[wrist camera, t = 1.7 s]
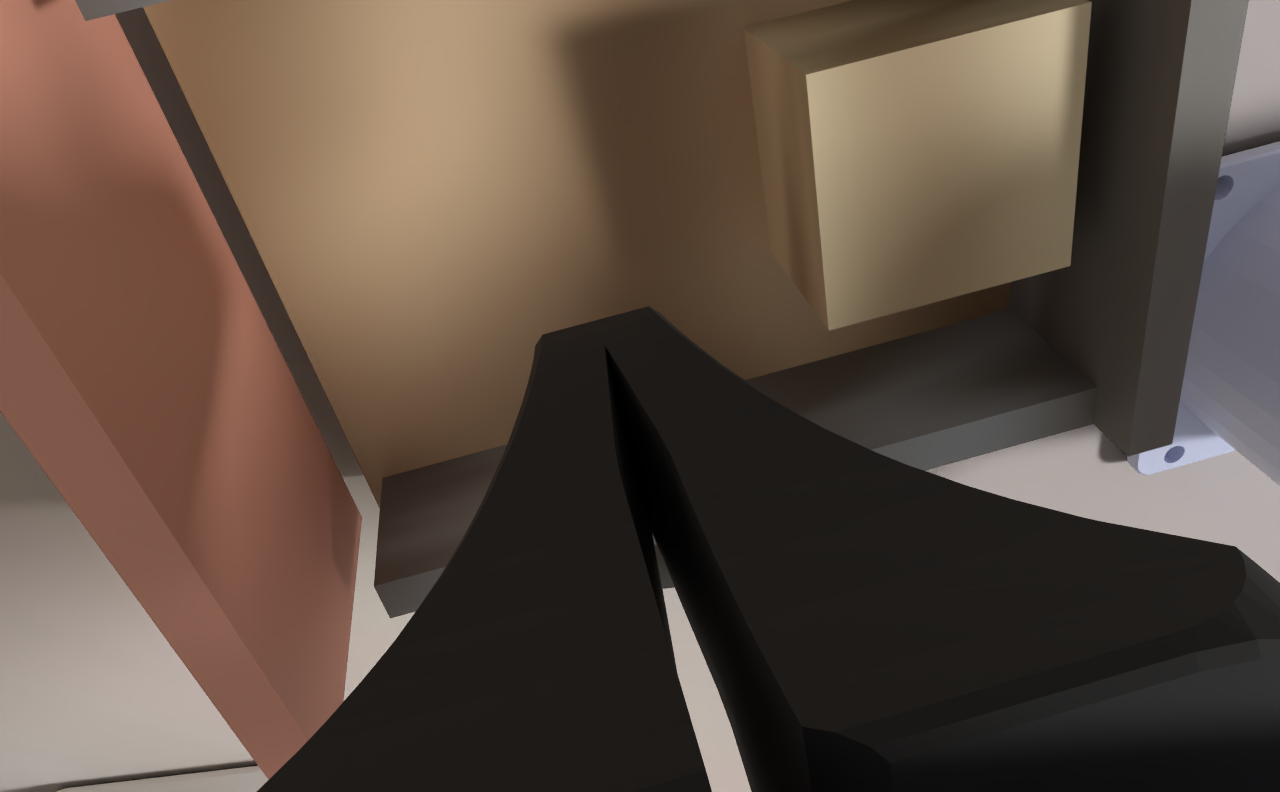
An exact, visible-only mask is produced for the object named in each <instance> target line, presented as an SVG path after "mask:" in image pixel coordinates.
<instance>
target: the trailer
mask: <svg viewBox="0 0 1280 792" xmlns="http://www.w3.org/2000/svg"><path fill="white" fill-rule="evenodd" d="M75 1H76V3H77V5H78V7H79V9H80V11H81V13H82V15H83V17H84V19H85V21H89V20H93V19H97V18H101V17H105V16H109V15H113V14H117V13H121V12H126V11H130V10H134V9H138V8H142V7H143V9H144V11H145V13H146V15H147V17H148V19H149V21H150V23H151V25H152V28H153V30H154V32H155V34H156V36H157V38H158V40H159V42H160V44H161V47H162V49H163V51H164V53H165V55H166V57H167V59H168V61H169V64H170V66H171V68H172V70H173V72H174V74H175V76H176V78H177V80H178V83H179V85H180V87H181V89H182V91H183V93H184V95H185V97H186V99H187V102H188V104H189V106H190V108H191V110H192V112H193V114H194V116H195V119H196V121H197V123H198V125H199V127H200V129H201V131H202V133H203V135H204V138H205V140H206V142H207V144H208V146H209V148H210V150H211V152H212V155H213V157H214V159H215V161H216V163H217V165H218V167H219V169H220V171H221V174H222V176H223V178H224V180H225V182H226V184H227V186H228V188H229V190H230V193H231V195H232V197H233V199H234V201H235V203H236V205H237V207H238V210H239V212H240V214H241V216H242V218H243V220H244V222H245V224H246V226H247V229H248V231H249V233H250V235H251V237H252V239H253V241H254V243H255V245H256V248H257V250H258V252H259V254H260V256H261V258H262V260H263V262H264V265H265V267H266V269H267V271H268V273H269V275H270V277H271V279H272V281H273V284H274V286H275V288H276V290H277V292H278V294H279V296H280V298H281V300H282V303H283V305H284V307H285V309H286V311H287V313H288V315H289V317H290V320H291V322H292V324H293V326H294V328H295V330H296V332H297V334H298V336H299V339H300V341H301V343H302V345H303V347H304V349H305V351H306V353H307V356H308V358H309V360H310V362H311V364H312V366H313V368H314V370H315V372H316V375H317V377H318V379H319V381H320V383H321V385H322V387H323V389H324V391H325V394H326V396H327V398H328V400H329V402H330V404H331V406H332V408H333V411H334V413H335V415H336V417H337V419H338V421H339V423H340V425H341V427H342V430H343V432H344V434H345V436H346V438H347V440H348V442H349V444H350V446H351V449H352V451H353V453H354V455H355V457H356V459H357V461H358V463H359V466H360V468H361V470H362V472H363V474H364V476H365V478H366V480H367V482H368V485H369V487H370V489H371V491H372V493H373V495H374V497H375V499H376V501H377V504H378V506H379V508H380V515H379V528H378V541H377V554H376V567H375V580H374V587H375V589H376V591H377V593H378V595H379V597H380V599H381V601H382V603H383V605H384V607H385V609H386V611H387V613H388V615H389V617H390V618H393V617H397V616H400V615H404V614H408V613H411V612H415V611H417V609H418V608H419V606H420V605H421V603H422V602H423V600H424V599H425V597H426V596H427V594H428V593H429V591H430V590H431V589H432V587H433V586H434V584H435V583H436V581H437V580H438V578H439V577H440V575H441V574H442V572H443V570H444V569H445V567H446V566H447V564H448V562H449V561H450V559H451V557H452V555H453V554H454V552H455V550H456V549H457V547H458V545H459V544H460V542H461V540H462V538H463V537H464V535H465V533H466V531H467V529H468V528H469V526H470V524H471V522H472V520H473V518H474V516H475V514H476V512H477V510H478V509H479V507H480V505H481V503H482V501H483V498H484V496H485V494H486V492H487V490H488V487H489V485H490V483H491V481H492V478H493V476H494V474H495V472H496V470H497V467H498V465H499V463H500V461H501V458H502V456H503V454H504V451H505V449H506V446H507V444H508V441H509V438H510V436H511V433H512V430H513V427H514V424H515V421H516V419H517V416H518V413H519V410H520V407H521V405H522V401H523V398H524V395H525V391H526V388H527V384H528V381H529V377H530V373H531V368H532V364H533V358H534V352H535V345H536V344H537V342H538V341H539V339H540V338H541V336H542V334H546V333H550V332H554V331H557V330H561V329H565V328H569V327H572V326H576V325H580V324H584V323H587V322H591V321H595V320H599V319H602V318H606V317H610V316H614V315H617V314H621V313H625V312H629V311H632V310H636V309H640V308H644V307H647V306H649V307H651V308H653V309H654V310H656V311H658V312H659V313H661V314H662V315H663V316H664V317H665V318H666V319H667V320H668V321H669V322H670V323H671V324H673V325H674V326H675V327H676V328H677V329H678V330H679V331H681V332H682V333H683V334H684V335H685V336H687V337H688V338H689V339H690V340H691V341H693V342H694V343H695V344H696V345H698V346H699V347H700V348H701V349H703V350H704V351H705V352H706V353H708V354H709V355H710V356H712V357H713V358H714V359H716V360H717V361H718V362H720V363H721V364H722V365H724V366H725V367H727V368H728V369H730V370H731V371H732V372H734V373H735V374H737V375H738V376H740V377H741V378H742V379H744V380H745V381H747V382H748V383H750V384H751V385H752V386H754V387H755V388H757V389H758V390H760V391H762V392H763V393H765V394H766V395H768V396H769V397H771V398H772V399H774V400H776V401H777V402H779V403H781V404H782V405H784V406H786V407H787V408H789V409H791V410H792V411H794V412H796V413H798V414H799V415H801V416H803V417H804V418H806V419H808V420H810V421H812V422H813V423H815V424H817V425H819V426H821V427H823V428H825V429H827V430H829V431H831V432H833V433H835V434H837V435H840V436H842V437H844V438H846V439H848V440H850V441H853V442H855V443H857V444H859V445H861V446H863V447H866V448H868V449H870V450H872V451H874V452H877V453H879V454H881V455H884V456H886V457H889V458H891V459H894V460H896V461H899V462H901V463H904V464H906V465H909V466H912V467H915V468H918V469H921V470H923V471H924V470H928V469H932V468H935V467H939V466H943V465H946V464H950V463H953V462H957V461H961V460H964V459H968V458H971V457H975V456H979V455H982V454H986V453H990V452H993V451H997V450H1000V449H1004V448H1008V447H1011V446H1015V445H1018V444H1022V443H1026V442H1029V441H1033V440H1037V439H1040V438H1044V437H1047V436H1051V435H1055V434H1058V433H1062V432H1065V431H1069V430H1073V429H1076V428H1080V427H1084V426H1087V425H1091V424H1095V425H1096V426H1097V427H1098V428H1099V429H1100V430H1101V431H1102V432H1103V433H1104V434H1105V435H1106V436H1107V437H1108V438H1109V439H1110V440H1111V441H1112V442H1113V443H1114V444H1116V445H1117V446H1118V447H1119V448H1120V449H1121V450H1122V451H1123V452H1124V453H1125V454H1126V455H1127V456H1132V455H1135V454H1139V453H1143V452H1146V451H1150V450H1153V449H1157V448H1161V447H1164V446H1168V445H1171V444H1172V443H1173V437H1174V431H1175V425H1176V420H1177V414H1178V408H1179V402H1180V396H1181V390H1182V385H1183V379H1184V373H1185V367H1186V361H1187V356H1188V350H1189V344H1190V338H1191V332H1192V327H1193V321H1194V315H1195V309H1196V303H1197V298H1198V292H1199V286H1200V280H1201V274H1202V269H1203V263H1204V257H1205V251H1206V245H1207V240H1208V234H1209V228H1210V222H1211V216H1212V211H1213V205H1214V199H1215V193H1216V187H1217V182H1218V176H1219V170H1220V164H1221V158H1222V152H1223V147H1224V141H1225V135H1226V129H1227V123H1228V118H1229V112H1230V106H1231V100H1232V94H1233V89H1234V83H1235V77H1236V71H1237V65H1238V60H1239V54H1240V48H1241V42H1242V36H1243V31H1244V25H1245V19H1246V13H1247V7H1248V2H1249V0H1087V1H1090V2H1092V6H1091V18H1090V31H1089V43H1088V55H1087V68H1086V80H1085V92H1084V105H1083V117H1082V129H1081V142H1080V154H1079V166H1078V178H1077V191H1076V203H1075V215H1074V228H1073V240H1072V252H1071V265H1070V266H1068V267H1065V268H1061V269H1057V270H1053V271H1050V272H1046V273H1042V274H1038V275H1035V276H1031V277H1027V278H1024V279H1020V280H1016V281H1012V282H1009V283H1005V284H1001V285H997V286H994V287H990V288H986V289H982V290H979V291H975V292H971V293H968V294H964V295H960V296H956V297H953V298H949V299H945V300H941V301H938V302H934V303H930V304H927V305H923V306H919V307H915V308H912V309H908V310H904V311H900V312H897V313H893V314H889V315H886V316H882V317H878V318H874V319H871V320H867V321H863V322H859V323H856V324H852V325H848V326H844V327H841V328H837V329H833V330H830V331H829V330H828V329H827V328H826V326H825V325H824V324H823V322H822V321H821V319H820V318H819V317H818V315H817V314H816V313H815V311H814V310H813V309H812V307H811V306H810V305H809V303H808V302H807V300H806V299H805V298H804V296H803V295H802V294H801V292H800V291H799V290H798V288H797V287H796V286H795V284H794V283H793V281H792V280H791V279H790V277H789V276H788V275H787V273H786V272H785V271H784V269H783V268H782V266H781V265H780V264H779V262H778V261H777V260H776V258H775V257H774V256H773V254H772V253H771V246H770V238H769V230H768V222H767V214H766V206H765V198H764V190H763V182H762V174H761V165H760V157H759V149H758V141H757V133H756V125H755V117H754V109H753V101H752V93H751V84H750V76H749V68H748V60H747V52H746V44H745V36H744V28H745V27H749V26H753V25H756V24H760V23H764V22H768V21H772V20H776V19H780V18H784V17H788V16H792V15H796V14H800V13H804V12H808V11H812V10H816V9H820V8H824V7H828V6H832V5H836V4H840V3H844V2H848V1H852V0H75ZM653 540H654V545H655V551H656V556H657V562H658V568H659V573H660V579H661V584H662V588H673V587H674V584H673V582H672V579H671V577H670V575H669V572H668V570H667V568H666V565H665V563H664V560H663V558H662V556H661V553H660V551H659V548H658V546H657V544H656V541H655V539H654V536H653Z"/></svg>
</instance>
